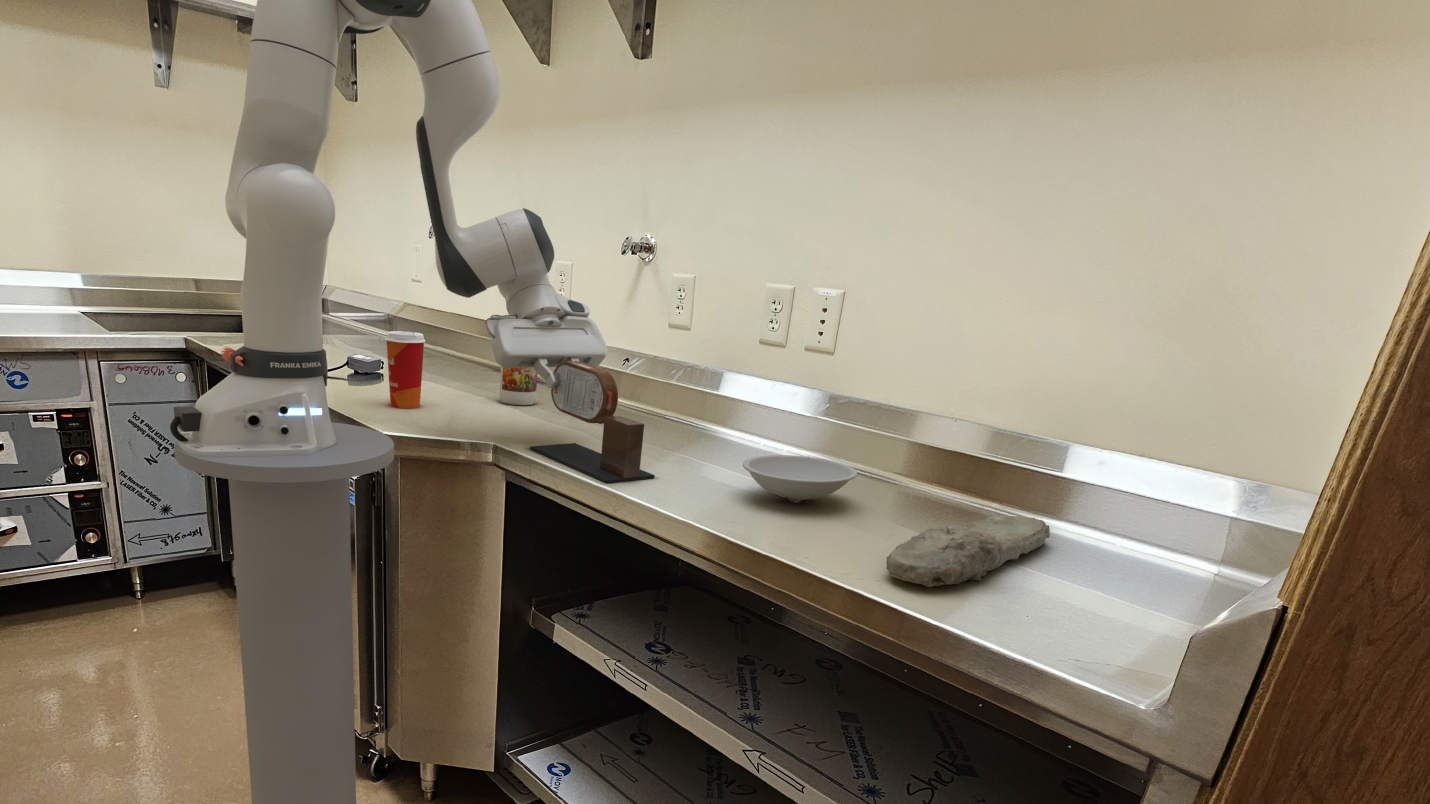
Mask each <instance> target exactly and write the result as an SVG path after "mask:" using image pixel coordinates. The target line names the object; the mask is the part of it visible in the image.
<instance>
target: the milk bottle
mask: <svg viewBox="0 0 1430 804" xmlns="http://www.w3.org/2000/svg"><path fill="white" fill-rule="evenodd" d="M537 386H538V373H537V372H536V371H535V368H502V367H501V366H500V377H499V401H500V402H501V403H503V404H506V405H507V404H508V405H514V406H531V405H534V404H535V403H536V401H537V389H538V388H537Z"/></svg>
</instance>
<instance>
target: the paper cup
mask: <svg viewBox="0 0 1430 804" xmlns="http://www.w3.org/2000/svg"><path fill="white" fill-rule="evenodd" d="M384 340H385V341H386V355H387V373H388V389H389V399H390V400H389V401H390V406H391V407H392V408H397V409H409V410H410V409H417V408H419V407H420V405H421V395H422V394H421V392H422V379H423V366H424V365H423V364H424V363H423V362H424V350H425V349H424V348H425V347H424V346H425V343H426V339H425V337H424V334H423V333H421V332H413V331H404V330H393V331H387V332H386V337H384Z"/></svg>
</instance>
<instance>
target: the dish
mask: <svg viewBox="0 0 1430 804" xmlns="http://www.w3.org/2000/svg"><path fill="white" fill-rule="evenodd" d="M742 467H743V469H745V470H746V471H748V473H749V474H750V476H751V477H752V479H753V480H754V481H755V482H756V483H757V485H758V486H760V487H761V489H763V490H764V491H766V492H768V493H770V494H773V495H775V496H779V497H782V498H786V499H788V502H789V501H790V502H792V503H800V502H801V501H802V500H813V499H819V498H824V497H827V496H829V495H831V494H833V493H835V492H837V491H839V490H840V489H842V488H843V487H844V486H845V485H847V483H848V482H849V481H852V480H854V479H855V478H857V476H858V472H857V470H856V469H855V468H854V467H851V466H850V465H847V464H845V463H841V462H838V461H834V460H830V459H824V458H820V457H813V456H806V455H805V456H803V455H791V454H772V455H771V454H770V455H769V454H768V455H759V456H754V457H749V458H747V459H745V460H744V461H743V462H742Z"/></svg>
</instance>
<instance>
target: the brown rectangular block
mask: <svg viewBox="0 0 1430 804" xmlns="http://www.w3.org/2000/svg"><path fill="white" fill-rule="evenodd" d="M644 429H645V423H643V422H639V421H636V420H634V419H630V418H628V417H625V416H622V415H613V416H609V417H604V424H603V429H602V441H601V451H600V453H601V464H600V469H603V470H605V471H607V472H610V473H612V474H615V475H617V476H619V477H622V478H631V477H639V472H640V469H641V461H642V453H643V452H642V450H643V441H644V432H645V430H644Z"/></svg>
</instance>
